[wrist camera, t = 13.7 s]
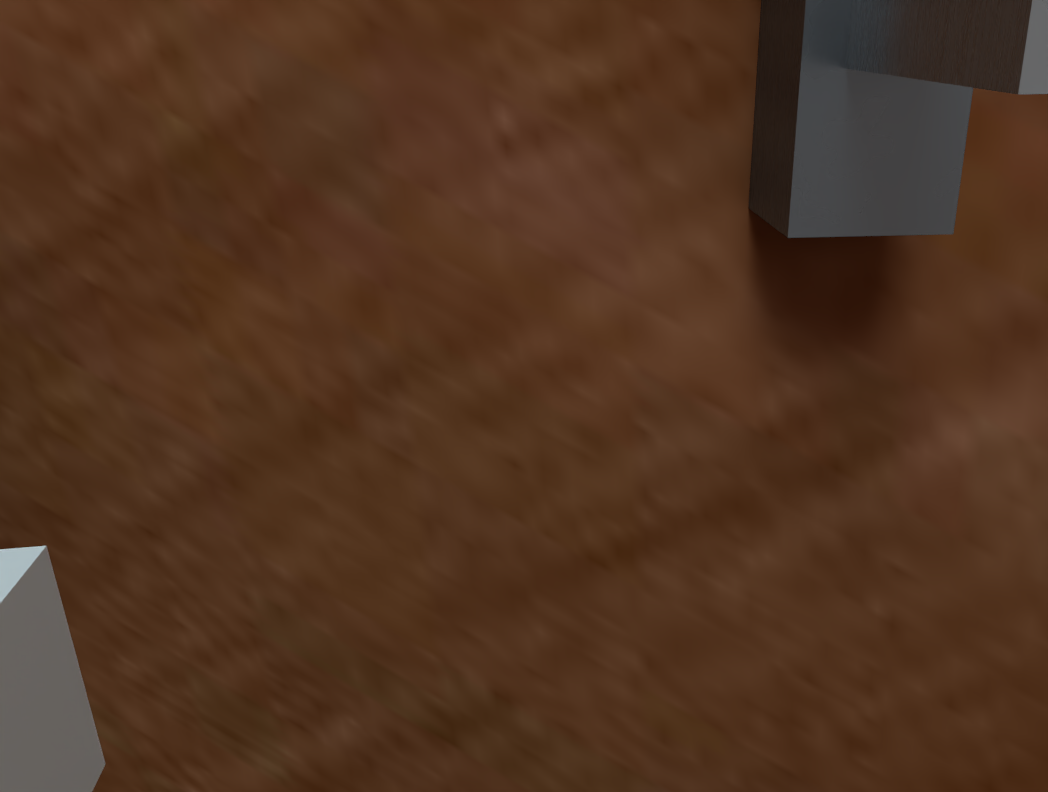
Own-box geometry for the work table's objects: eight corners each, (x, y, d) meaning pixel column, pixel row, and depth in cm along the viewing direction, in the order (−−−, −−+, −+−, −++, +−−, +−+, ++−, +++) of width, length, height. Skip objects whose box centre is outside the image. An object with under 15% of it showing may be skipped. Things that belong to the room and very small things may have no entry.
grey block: (748, 207, 35) (919, 337, 21) (773, -188, 30) (1008, -362, 16) (891, 204, 35) (1158, 332, 21) (936, -190, 31) (1309, -366, 16)
